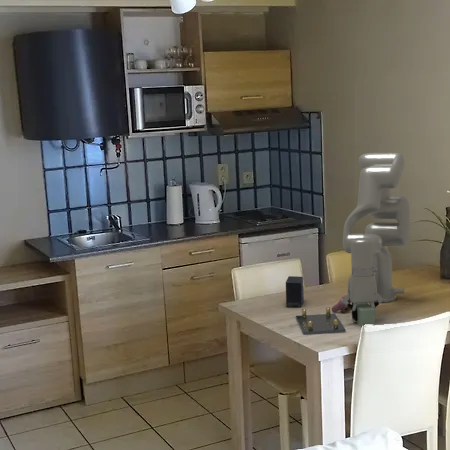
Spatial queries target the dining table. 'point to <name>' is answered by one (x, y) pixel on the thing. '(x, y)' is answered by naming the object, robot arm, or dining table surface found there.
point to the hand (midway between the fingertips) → (363, 319)
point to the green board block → (365, 314)
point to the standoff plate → (319, 323)
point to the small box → (294, 291)
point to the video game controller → (340, 305)
